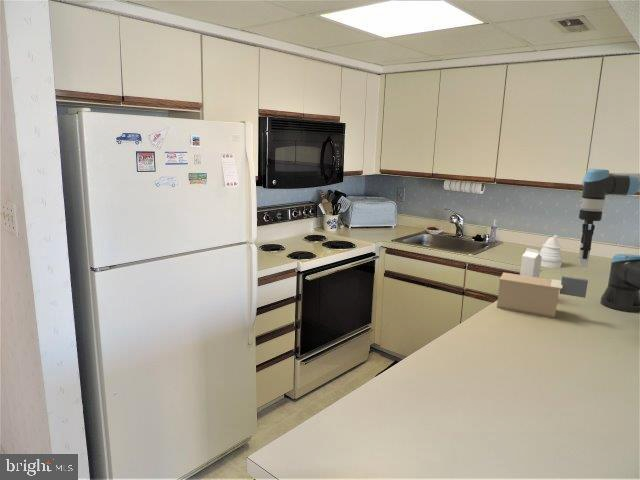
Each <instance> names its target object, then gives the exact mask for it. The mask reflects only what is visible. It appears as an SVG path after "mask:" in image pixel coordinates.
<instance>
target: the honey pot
mask: <svg viewBox="0 0 640 480" xmlns="http://www.w3.org/2000/svg"><path fill="white" fill-rule="evenodd" d="M558 238H559V235H555V234H554V235H553V236H551V237H549V238H548V239H547V240H546V241H545V242H544V243H543V244H542V245H541V246H542V247H541V249H540V250H539V254H540V255H541V256H542V259H541V266H540V267H544V268H548V269H549V268H551V269H560V268H562V263H563V262H562V261H563V257H562V252H561V249H562V245H560V244H559V242H558Z"/></svg>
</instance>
